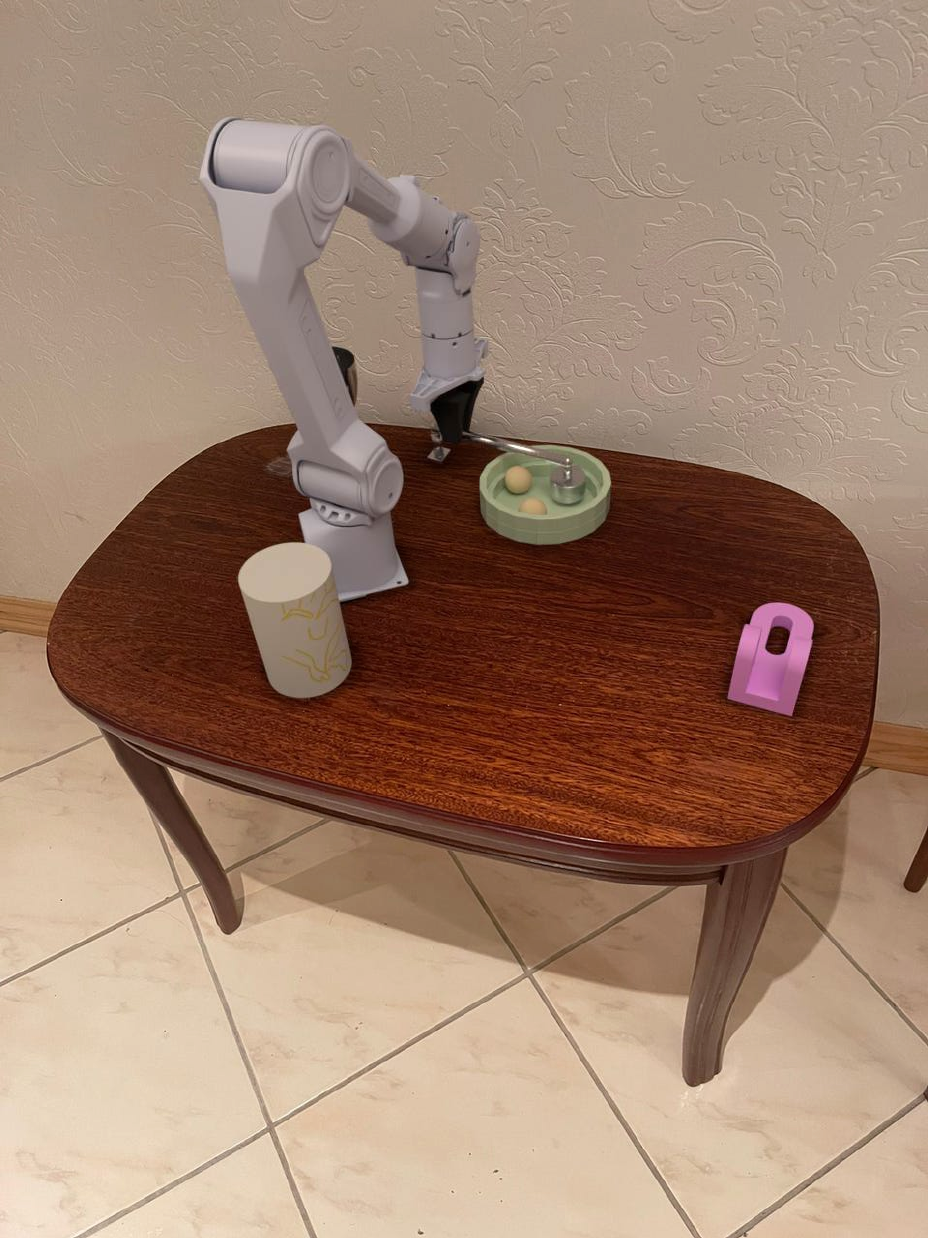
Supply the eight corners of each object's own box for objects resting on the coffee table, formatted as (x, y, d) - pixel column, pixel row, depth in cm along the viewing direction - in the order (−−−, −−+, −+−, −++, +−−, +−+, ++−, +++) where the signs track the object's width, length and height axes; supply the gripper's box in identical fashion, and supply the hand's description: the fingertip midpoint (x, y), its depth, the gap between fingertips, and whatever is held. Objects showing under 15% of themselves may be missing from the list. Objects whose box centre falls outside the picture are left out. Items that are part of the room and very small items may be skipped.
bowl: (504, 560, 96) (503, 531, 93) (466, 488, 106) (464, 459, 103) (629, 530, 98) (632, 501, 95) (580, 463, 109) (581, 434, 106)
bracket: (791, 716, 77) (807, 660, 73) (727, 698, 79) (738, 643, 75) (814, 621, 86) (830, 565, 81) (756, 607, 88) (768, 552, 83)
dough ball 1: (500, 495, 104) (497, 469, 102) (515, 485, 106) (513, 460, 104) (523, 499, 102) (520, 473, 100) (538, 488, 104) (535, 463, 102)
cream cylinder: (310, 710, 81) (283, 615, 73) (250, 675, 85) (218, 580, 77) (368, 658, 86) (350, 562, 78) (309, 626, 90) (285, 531, 82)
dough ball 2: (521, 533, 98) (519, 508, 96) (517, 519, 100) (515, 494, 99) (549, 530, 98) (548, 504, 96) (545, 516, 100) (544, 491, 99)
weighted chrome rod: (590, 485, 102) (591, 450, 98) (576, 507, 100) (576, 472, 96) (440, 445, 110) (435, 411, 106) (424, 465, 107) (418, 431, 104)
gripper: (446, 363, 89) (455, 477, 98) (510, 306, 98) (513, 415, 107) (387, 351, 92) (401, 463, 101) (455, 296, 101) (462, 404, 110)
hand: (455, 438), depth 104 cm, fingers closed on weighted chrome rod
